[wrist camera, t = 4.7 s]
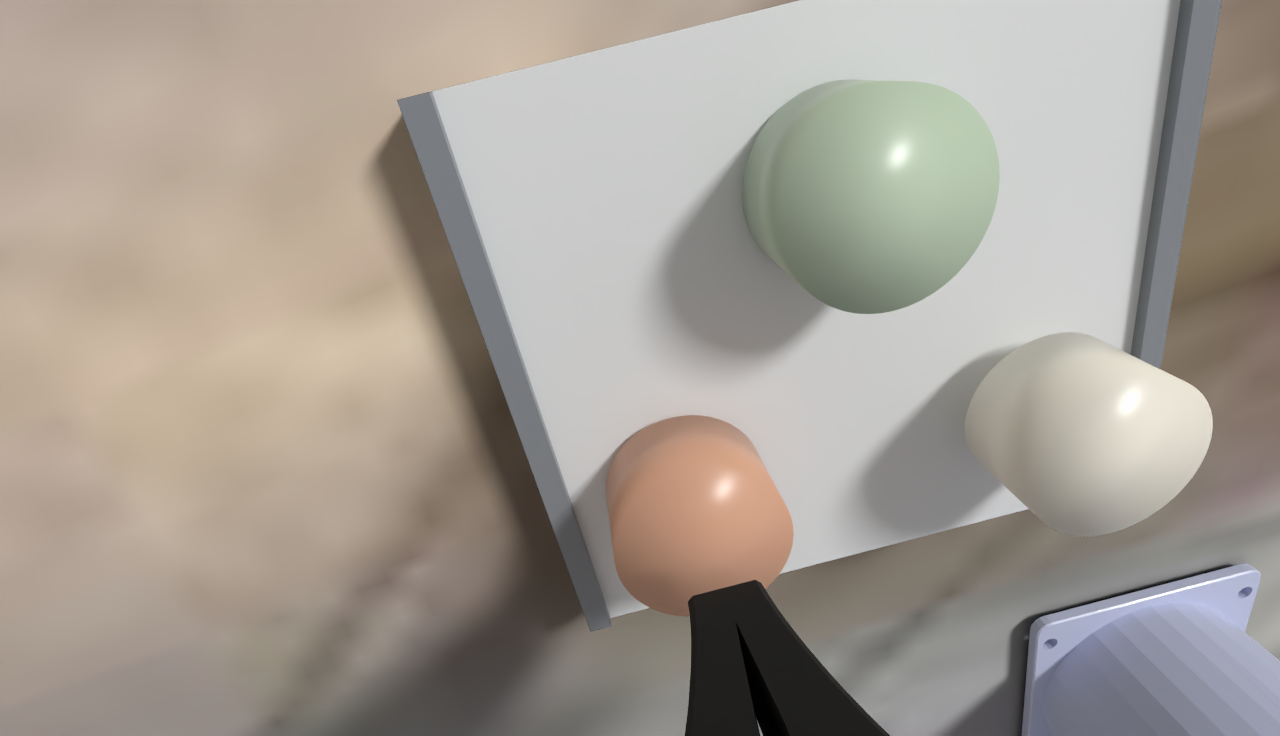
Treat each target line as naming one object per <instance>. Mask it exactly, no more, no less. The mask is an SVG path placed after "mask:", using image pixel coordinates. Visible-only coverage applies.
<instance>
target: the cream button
mask: <svg viewBox="0 0 1280 736" xmlns="http://www.w3.org/2000/svg"><path fill="white" fill-rule="evenodd" d="M1212 429H1213V422H1212V414H1211V409H1210V407H1209V404H1208V402H1207V400H1206V399H1205V397H1204V396H1203V394H1202V393H1201V392H1200V391H1198V390H1197V389H1196V388H1195V387H1193V386H1192V385H1190V384H1189V383H1187V382H1185V381H1183V380H1181V379H1179V378H1177V377H1174V376H1172V375H1170V374H1168V373H1166V372H1164V371H1162V370H1160V369H1158V368H1156V367H1154V366H1152V365H1150V364H1148V363H1146V362H1144V361H1142V360H1140V359H1138V358H1136V357H1134V356H1132V355H1130V354H1128V353H1126V352H1124V351H1122V350H1120V349H1118V348H1116V347H1114V346H1112V345H1110V344H1108V343H1106V342H1104V341H1102V340H1100V339H1098V338H1095V337H1093V336H1090V335H1087V334H1082V333H1074V332H1065V333H1056V334H1051V335H1047V336H1044V337H1041V338H1038V339H1035V340H1033V341H1031V342H1028V343H1026V344H1024V345H1023V346H1021V347H1019V348H1017V349H1016V350H1014V351H1013V352H1011V353H1010V354H1009V355H1007V356H1006V357H1005V358H1003V359H1002V360H1001V361H1000V362H999V363H998V364H997V365H996V366H995V367H994V368H993V369H992V370H991V371H990V372H989V373H988V374H987V375H986V377H985V378H984V379H983V380H982V382H981V383H980V385H979V386H978V388H977V390H976V391H975V393H974V395H973V397H972V399H971V402H970V405H969V407H968V410H967V415H966V420H965V437H966V441H967V445H968V447H969V450H970V452H971V453H972V455H973V456H974V458H975V459H976V460H977V461H978V462H979V463H980V464H981V465H982V466H983V467H984V468H985V469H986V470H988V471H989V472H990V473H991V474H992V475H993V476H994V477H995V478H996V479H997V480H998V481H999V482H1000V483H1002V484H1003V485H1004V486H1005V487H1006V488H1007V489H1008V490H1009V491H1010V492H1011V493H1012V494H1013V495H1015V496H1016V497H1017V498H1018V499H1019V500H1020V501H1021V502H1022V503H1023V504H1024V505H1025V506H1026V507H1027V508H1029V509H1030V510H1031V511H1032V512H1033V513H1034V514H1035V515H1036V516H1037V517H1038V518H1039V519H1040V520H1042V521H1043V522H1044V523H1045V524H1046V525H1047V526H1049V527H1050V528H1052V529H1053V530H1056V531H1058V532H1060V533H1063V534H1067V535H1071V536H1079V537H1090V536H1099V535H1104V534H1109V533H1113V532H1116V531H1119V530H1122V529H1125V528H1127V527H1129V526H1132V525H1134V524H1136V523H1138V522H1140V521H1142V520H1144V519H1146V518H1147V517H1149V516H1150V515H1152V514H1154V513H1155V512H1157V511H1158V510H1159V509H1161V508H1162V507H1163V506H1165V505H1166V504H1167V503H1168V502H1169V501H1171V500H1172V499H1173V498H1174V497H1175V496H1176V495H1177V494H1178V493H1179V492H1180V491H1181V490H1182V489H1183V488H1184V487H1185V486H1186V485H1187V483H1188V482H1189V481H1190V480H1191V478H1192V477H1193V476H1194V474H1195V473H1196V471H1197V470H1198V468H1199V466H1200V465H1201V463H1202V461H1203V459H1204V457H1205V455H1206V452H1207V450H1208V447H1209V444H1210V440H1211V436H1212Z"/></svg>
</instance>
